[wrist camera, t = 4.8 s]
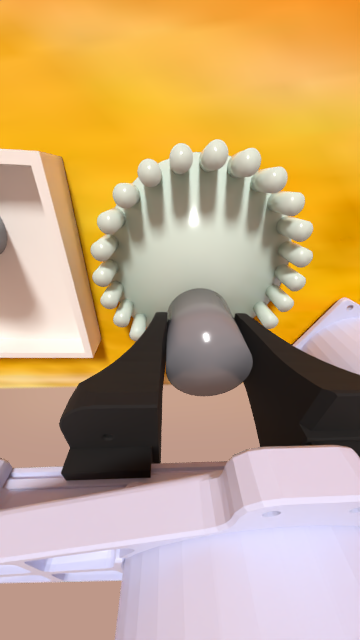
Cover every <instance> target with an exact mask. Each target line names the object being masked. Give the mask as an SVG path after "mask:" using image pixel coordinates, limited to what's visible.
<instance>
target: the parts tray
mask: <svg viewBox="0 0 360 640" xmlns="http://www.w3.org/2000/svg"><path fill="white" fill-rule="evenodd" d="M0 217H1V219H2V220H3V223H4V225H5V228H6V231H7V245H6V248H5V250H4V251H3V253H2V254H0V358H93V357H94V355H95V353H96V350H97V348H98V346H99V343H100V341H101V335H100V331H99V326H98V322H97V317H96V312H95V308H94V303H93V298H92V294H91V289H90V285H89V280H88V275H87V271H86V266H85V262H84V257H83V252H82V248H81V243H80V239H79V234H78V229H77V225H76V220H75V215H74V211H73V206H72V202H71V197H70V192H69V188H68V183H67V179H66V174H65V169H64V165H63V160H62V157H60V156H56V155H52V154H48V153H44V152H40V151H26V150H10V149H0Z"/></svg>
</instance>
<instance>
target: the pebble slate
mask: <svg viewBox="0 0 360 640" xmlns="http://www.w3.org/2000/svg"><path fill="white" fill-rule="evenodd" d="M6 245H7V231H6V228H5V225H4V223H3V220H2V219H1V217H0V254H2V253H3V251H4V250H5V248H6Z"/></svg>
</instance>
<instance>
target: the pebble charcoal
mask: <svg viewBox="0 0 360 640" xmlns="http://www.w3.org/2000/svg"><path fill="white" fill-rule="evenodd" d="M252 363H253V360H252V355H251V353H250V351H249V349H248V346H247V344H246V342H245V340H244V338H243V336H242V334H241V332H240V330H239V328H238V326H237V324H236V322H235V319H234V317H233V315H232V313H231V311H230V309H229V307H228V305H227V303H226V301H225V300H224V298H223V297H222V296H221V295H220V294H218V293H217V292H215V291H212V290H210V289H204V288H196V289H191V290H188V291H185V292H183V293H181V294H180V295H178V296H177V297H176V298H175V299H174V300H173V301H172V302H171V304H170V306H169V308H168V311H167V339H166V374H167V377H168V379H169V381H170V383H171V384H172V385H173V386H174V387H175V388H177V389H178V390H180V391H182V392H184V393H187V394H190V395H195V396H213V395H218V394H222V393H225V392H227V391H230V390H232V389H234V388H235V387H237V386H238V385H240V384H241V383H242V382H243V381H244V380H245V379H246V378H247V376H248V375H249V373H250V371H251V369H252Z"/></svg>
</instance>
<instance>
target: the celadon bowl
mask: <svg viewBox="0 0 360 640" xmlns="http://www.w3.org/2000/svg"><path fill="white" fill-rule="evenodd" d="M260 164H261V156H260V153H259V151H258V150H256V149H255V148H248V149H246V150H244V151H241V152H239V153H237V154H235V155H233V156H228V148H227V146H226V144H225V143H224V142H223V141H222V140H218V139H216V140H213V141H212V142H210V143H209V144H208V145H207V146H206V147H205V148H204V149H203V150H202V151H201V152H193V153H192V151H191V149H190V147H189V146H188V145H186V144H183V143H179V144H177V145H175V146H174V147H173V149H172V150H171V153H170V159H167V160H164V161H162V162H160V163H159V164H157V163H156V162H155V161H154V160H152V159H145V160H143V161H142V162H141V163H140V165H139V167H138V178H137V179H136V180H135V181H134V182H133V183H120V184H118V185H116V186H115V188H114V190H113V198H114V201H115V203H116V204H117V205H116V207H115V208H112V209H110V210H108V211H105V212H103V213H101V214H100V215H99V216H98V219H97V224H98V227H99V229H100V230H101V231H102V232H103V233H105V235H104V236H103V237H101V238H100V239H99V240H98V241H96V242H95V243H94V244H93V245H92V246H91V254H92V256H93V257H94V258H95V259H96V260H98V261H103V262H102V264H101V265H100V266H99V267H98V268H97V269H96V271H95V272H94V273H93V276H92V278H93V281H94V282H95V284H97V285H98V286H101V287H106V286H108V287H107V289H106V290H105V292H104V294H103V295H102V297H101V300H100V301H101V304H102V305H103V306H104V307H105V308H108V309H113V308H115V307H116V306H117V304H118V302H120V304H119V306H118V309H117V311H116V314H115V316H114V318H113V321H114V323H115V325H117V326H119V327H126V326H127V325H128V324H129V321H130V318H131V316H132V317H133V318H134V319H133V323H132V326H131V330H130V334H129V336H130V338H131V339H132V340H134V341H137V340H138V339H139V338H140V337H141V335H142V334H143V333H144V331H145V329H146V327H148V326H149V324H150V323H151V321H152V319H153V317H154V315H155V313H156V312H167V311H168V308H169V306H170V304H171V302H172V301H173V300H174V299H175V298H176V297H177V296H178V295H180V294H181V293H183V292H185V291H188V290H191V289H196V288H204V289H210V290H212V291H215V292H217V293H218V294H220V295H221V296H222V297H223V298H224V300H225V301H226V303H227V305H228V307H229V309H230V311H231V313H232V315H233V317H234V316H235V313H246V314H247V315H249V316H250V317H252V318H254V317H255V316H256V315H257V317H258V318H259V320H260V321H261V323H262V325H263V326H264V327H265V328H267V329H271V328H274V327H275V326H276V325H277V324H278V318H277V317H276V316H275V315H274V313H273V312H272V311H271V310H270V309H269V307H268V306H267V304H268V303H269V302H270V300H271V302H272V303H273V304H274V305H275V306H276V307H277V308H278V310H279V311H281V312H286V311H288V310H290V309H291V308H292V307H293V305H294V301H293V300H292V299H291V298H290V297H289V296H288V295H287V294H286V293H285V292H284V291H283V290H282V289H281V288H280V287H279V286H280V284H281V283H283V284H284V285H285V286H287V287H288V288H289V289H290V290H291V291H298V290H300V289H301V288H303V286H304V285H305V283H306V279H305V277H304V276H302V275H301V274H299V273H298V272H296V271H295V270H293V269H292V268H291V267H289V266H288V263H289V262H291V263H292V264H294V265H295V266H297V267H305V266H306V265H308V264H309V263H310V262H311V260H312V258H313V253H312V252H311V251H310V250H308V249H306V248H304V247H302V246H300V245H298V244H296V243H294V242H291V239H293V240H295V241H297V242H302V241H305V240H306V239H308V238H309V237H310V235H311V234H312V231H313V225H312V223H311V222H309V221H305V220H302V219H298V218H294V217H290V216H295V215H297V214H298V213H299V212H300V211H301V210H302V209H303V207H304V204H305V198H304V196H303V194H301V193H298V192H284V191H281V190H282V189H283V188H284V186H285V184H286V182H287V172H286V170H285V169H284V168H282V167H274V168H267V169H261V170H258V169H259V167H260Z"/></svg>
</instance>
